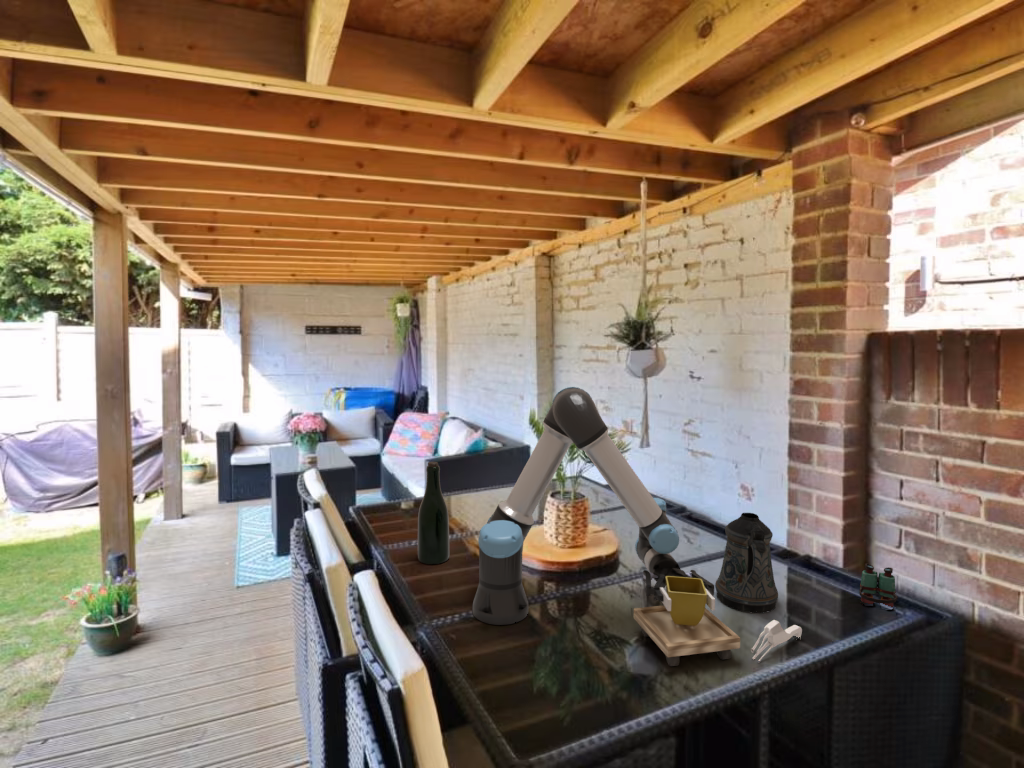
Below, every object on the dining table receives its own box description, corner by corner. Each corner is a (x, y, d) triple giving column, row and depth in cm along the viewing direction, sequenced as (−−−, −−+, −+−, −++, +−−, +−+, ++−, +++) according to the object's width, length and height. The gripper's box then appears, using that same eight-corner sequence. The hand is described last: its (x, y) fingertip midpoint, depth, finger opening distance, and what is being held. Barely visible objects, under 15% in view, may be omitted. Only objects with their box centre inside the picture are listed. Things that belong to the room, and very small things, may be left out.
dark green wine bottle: (428, 568, 181) (427, 467, 178) (412, 558, 189) (411, 461, 186) (455, 560, 188) (455, 462, 185) (438, 550, 196) (438, 457, 193)
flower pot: (706, 631, 130) (707, 594, 129) (667, 628, 132) (668, 591, 131) (700, 613, 139) (701, 578, 138) (664, 610, 140) (665, 575, 139)
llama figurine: (764, 685, 131) (804, 635, 140) (755, 648, 127) (796, 599, 136) (757, 681, 132) (796, 632, 141) (748, 644, 129) (789, 597, 138)
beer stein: (746, 583, 171) (750, 503, 169) (800, 612, 153) (804, 523, 151) (702, 592, 165) (705, 508, 163) (753, 623, 147) (756, 530, 145)
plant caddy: (667, 672, 125) (668, 646, 125) (633, 631, 143) (633, 608, 142) (739, 662, 129) (740, 637, 128) (697, 623, 146) (698, 601, 146)
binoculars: (861, 575, 154) (860, 559, 162) (858, 610, 156) (858, 593, 164) (900, 582, 149) (897, 566, 158) (897, 618, 151) (895, 600, 160)
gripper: (701, 579, 153) (738, 620, 131) (621, 579, 152) (643, 621, 130) (702, 552, 153) (739, 588, 130) (621, 553, 152) (644, 590, 130)
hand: (691, 605), depth 130 cm, fingers closed on flower pot, 10 cm apart
